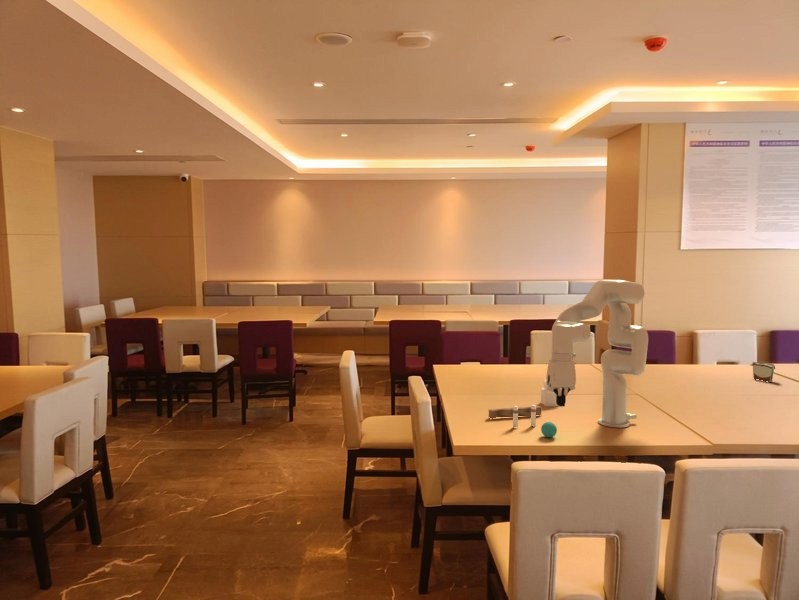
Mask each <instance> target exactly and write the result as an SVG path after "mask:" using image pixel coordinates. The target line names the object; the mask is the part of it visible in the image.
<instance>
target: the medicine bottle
mask: <svg viewBox="0 0 799 600" xmlns="http://www.w3.org/2000/svg"><path fill="white" fill-rule="evenodd" d="M547 388H548V385H547V384H546V379H544V381H543V387H542V388H540V403H541V402H542V403H543V404H544V405H545V406H544V405H543V404H542V403H541V404H542V405H543V406H544V407H559V406H558V405H557V403H556V394H555V393H554V392H553V391H549V390H547ZM554 405H555V406H554Z"/></svg>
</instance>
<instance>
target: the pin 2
mask: <svg viewBox="0 0 799 600" xmlns="http://www.w3.org/2000/svg"><path fill="white" fill-rule="evenodd" d="M536 406H537V405H536V404H531V405H530V407H531V417H530V427H531V426H533V427H532V428H536V427H537V424H536V423H537V422H536V421H537V416H536ZM535 426H536V427H535Z"/></svg>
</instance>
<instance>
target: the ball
mask: <svg viewBox="0 0 799 600" xmlns="http://www.w3.org/2000/svg"><path fill="white" fill-rule="evenodd" d="M540 431H541V434H542V435H543V436H544V437H545V438H554V437H555V436H556V434H557V431H558V429H557V426H556V424H555V423H554V422H551V421H545V422H544V423H542V425H541V427H540Z"/></svg>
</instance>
